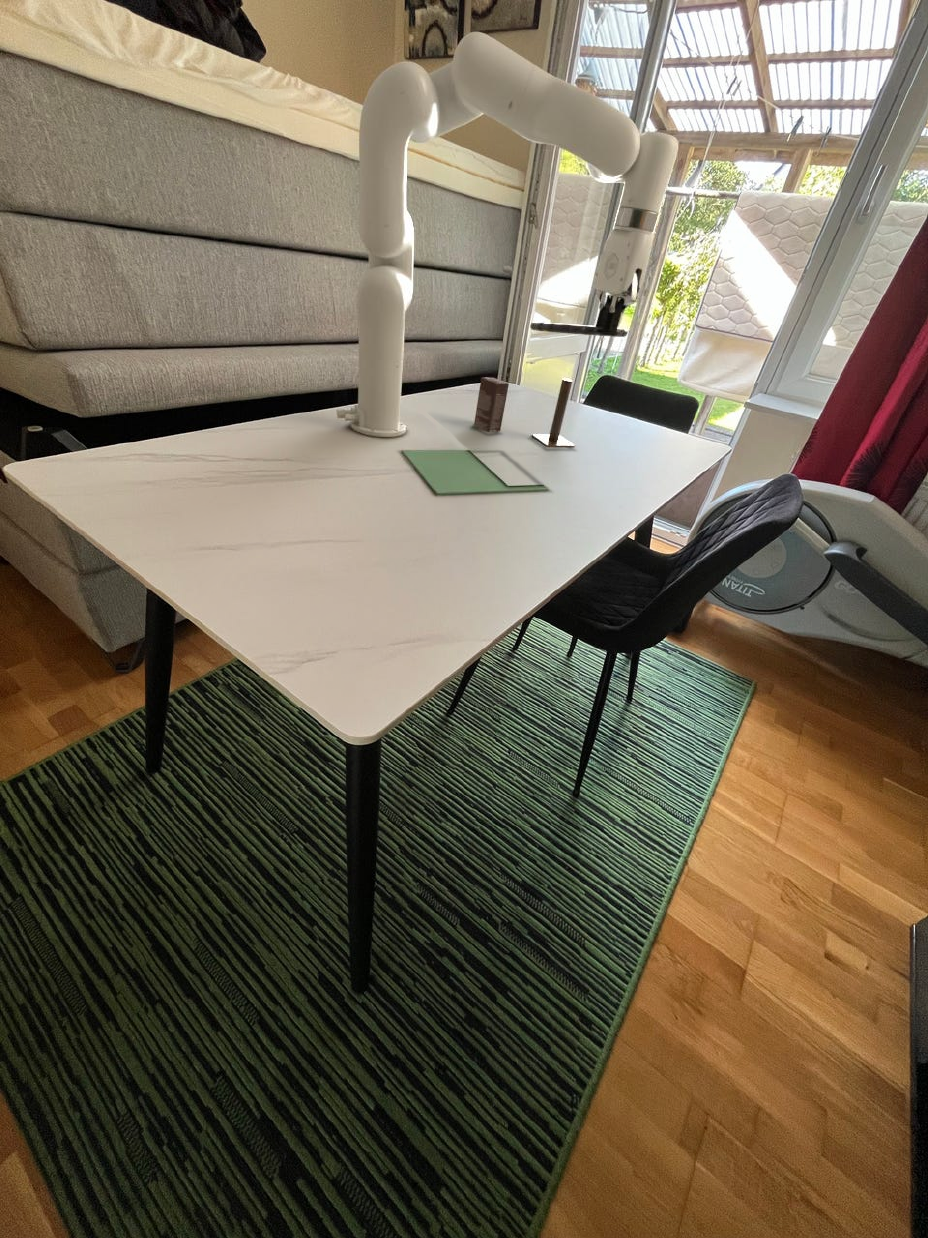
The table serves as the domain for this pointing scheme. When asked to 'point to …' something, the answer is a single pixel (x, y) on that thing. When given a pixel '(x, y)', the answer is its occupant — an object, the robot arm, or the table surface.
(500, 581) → the table surface
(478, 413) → the box
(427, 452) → the mat
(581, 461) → the table surface
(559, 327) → the ring
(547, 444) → the post
